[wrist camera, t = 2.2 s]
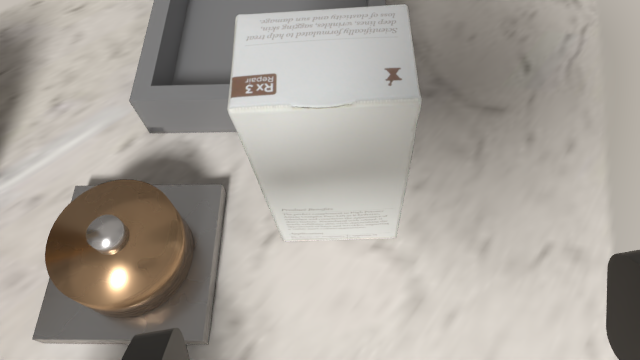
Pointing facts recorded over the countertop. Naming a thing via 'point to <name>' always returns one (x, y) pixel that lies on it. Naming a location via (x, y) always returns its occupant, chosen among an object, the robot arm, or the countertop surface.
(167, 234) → the service bell
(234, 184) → the countertop surface
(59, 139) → the countertop surface
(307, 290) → the countertop surface
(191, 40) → the tray
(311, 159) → the skincare box
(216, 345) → the countertop surface
